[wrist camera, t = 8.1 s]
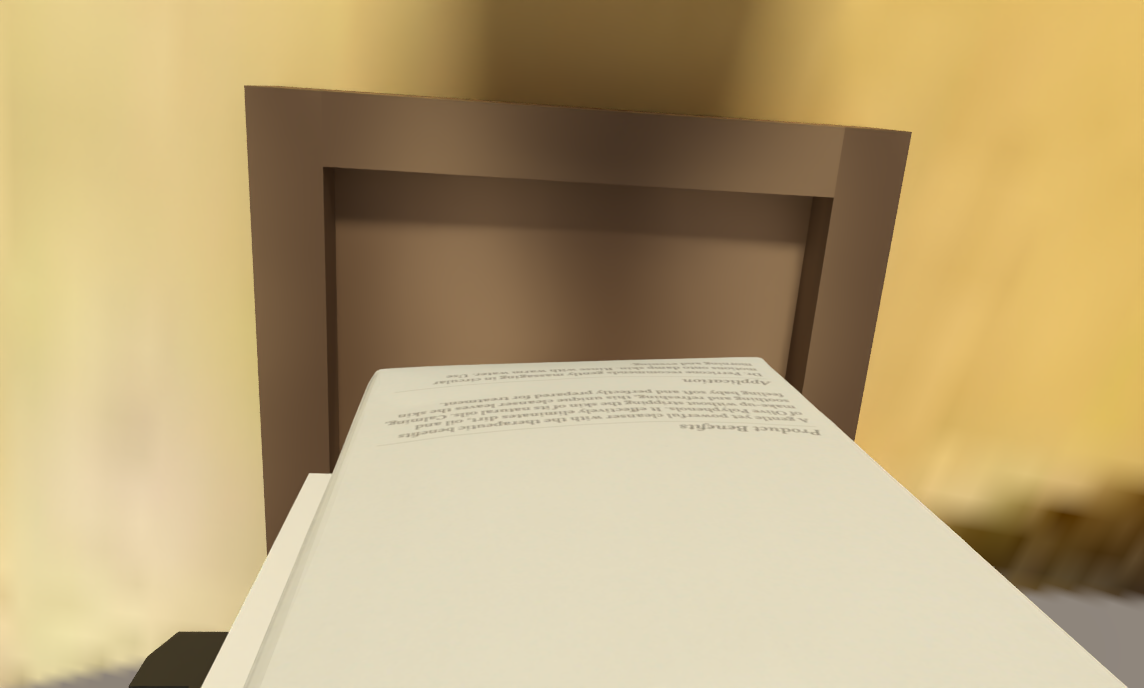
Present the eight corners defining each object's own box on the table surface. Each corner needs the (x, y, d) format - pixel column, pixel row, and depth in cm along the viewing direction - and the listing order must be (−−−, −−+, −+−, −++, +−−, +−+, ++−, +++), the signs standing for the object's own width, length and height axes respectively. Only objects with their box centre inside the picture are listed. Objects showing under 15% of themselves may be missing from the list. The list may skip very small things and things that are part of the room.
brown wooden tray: (295, 646, 23) (274, 702, 21) (273, 85, 18) (244, 85, 16) (779, 648, 24) (805, 700, 22) (867, 127, 20) (911, 132, 18)
